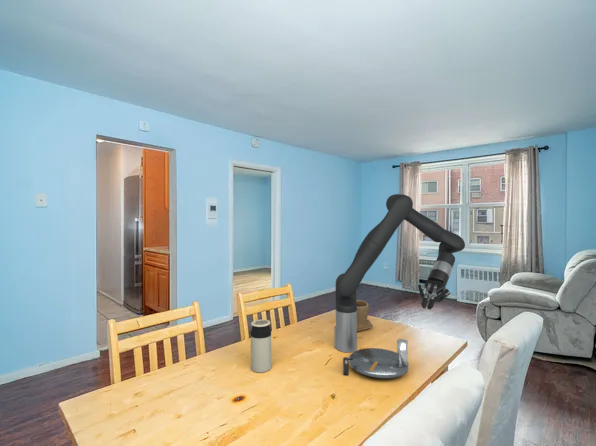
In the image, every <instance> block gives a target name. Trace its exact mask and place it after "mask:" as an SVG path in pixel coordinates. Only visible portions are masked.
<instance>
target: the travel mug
mask: <svg viewBox="0 0 596 446" xmlns="http://www.w3.org/2000/svg"><path fill="white" fill-rule="evenodd" d="M250 324H251V329H250V369H251V370H252V371H253V372H255V373H265V372H268V371H270V370H271V369H272V365H273V364H272V328H270V325H271V321H270V320H269V319H256V320H253V321H251V322H250Z"/></svg>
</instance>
